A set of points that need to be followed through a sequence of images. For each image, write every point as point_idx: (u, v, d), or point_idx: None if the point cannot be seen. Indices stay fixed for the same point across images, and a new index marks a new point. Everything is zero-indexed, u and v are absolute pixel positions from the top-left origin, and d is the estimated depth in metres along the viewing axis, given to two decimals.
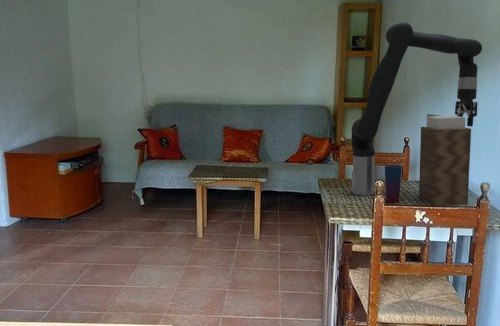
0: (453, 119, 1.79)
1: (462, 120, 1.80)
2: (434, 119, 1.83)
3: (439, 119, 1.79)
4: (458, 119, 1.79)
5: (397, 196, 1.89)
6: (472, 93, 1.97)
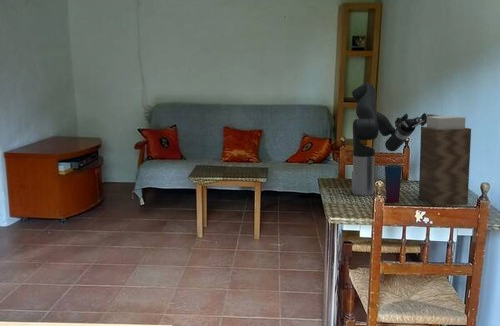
0: (453, 119, 1.79)
1: (462, 120, 1.80)
2: (434, 119, 1.83)
3: (439, 119, 1.79)
4: (458, 119, 1.79)
5: (397, 196, 1.89)
6: None
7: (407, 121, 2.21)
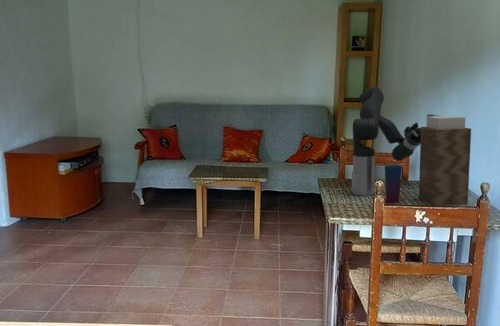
0: (453, 119, 1.79)
1: (462, 120, 1.80)
2: (434, 119, 1.83)
3: (439, 119, 1.79)
4: (458, 119, 1.79)
5: (397, 196, 1.89)
6: None
7: (417, 130, 2.09)
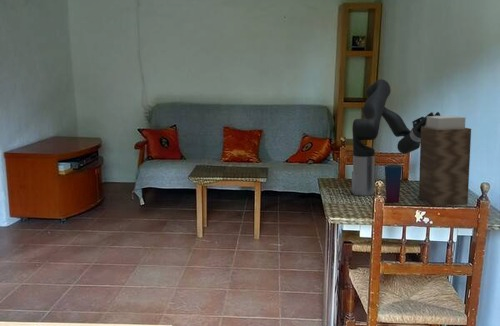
0: (453, 119, 1.79)
1: (462, 120, 1.79)
2: (434, 119, 1.83)
3: (439, 119, 1.79)
4: (458, 119, 1.79)
5: (397, 196, 1.89)
6: None
7: None
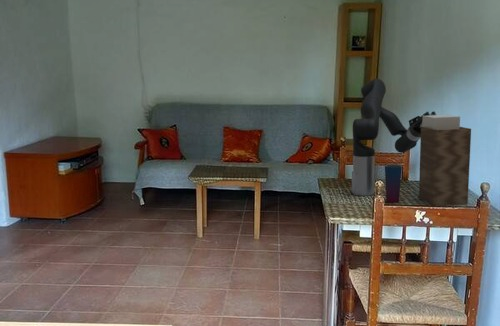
0: (448, 118, 1.84)
1: (457, 119, 1.84)
2: (429, 118, 1.87)
3: (434, 118, 1.83)
4: (453, 118, 1.84)
5: (397, 196, 1.89)
6: None
7: None
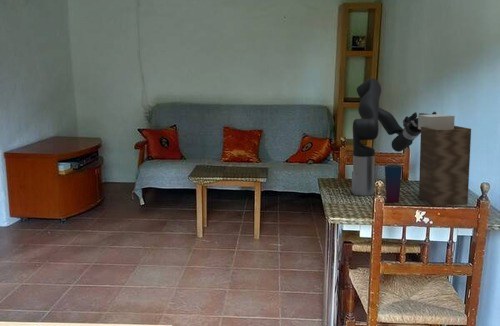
0: (443, 117, 1.88)
1: (452, 118, 1.88)
2: (425, 117, 1.91)
3: (429, 117, 1.88)
4: (447, 117, 1.88)
5: (397, 196, 1.89)
6: None
7: (416, 120, 2.10)
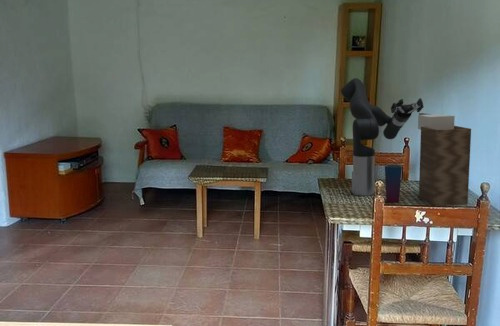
0: (443, 117, 1.88)
1: (452, 118, 1.88)
2: (425, 117, 1.91)
3: (429, 117, 1.88)
4: (447, 117, 1.88)
5: (397, 196, 1.89)
6: None
7: (403, 107, 2.22)
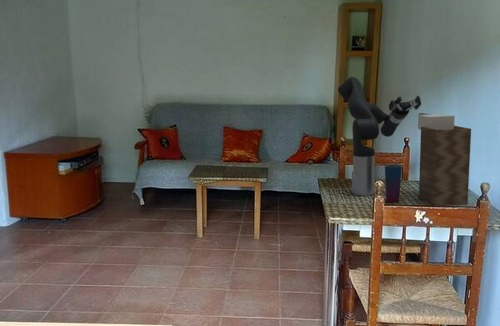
0: (443, 117, 1.88)
1: (452, 118, 1.88)
2: (425, 117, 1.91)
3: (429, 117, 1.88)
4: (447, 117, 1.88)
5: (397, 196, 1.89)
6: None
7: (401, 104, 2.22)
